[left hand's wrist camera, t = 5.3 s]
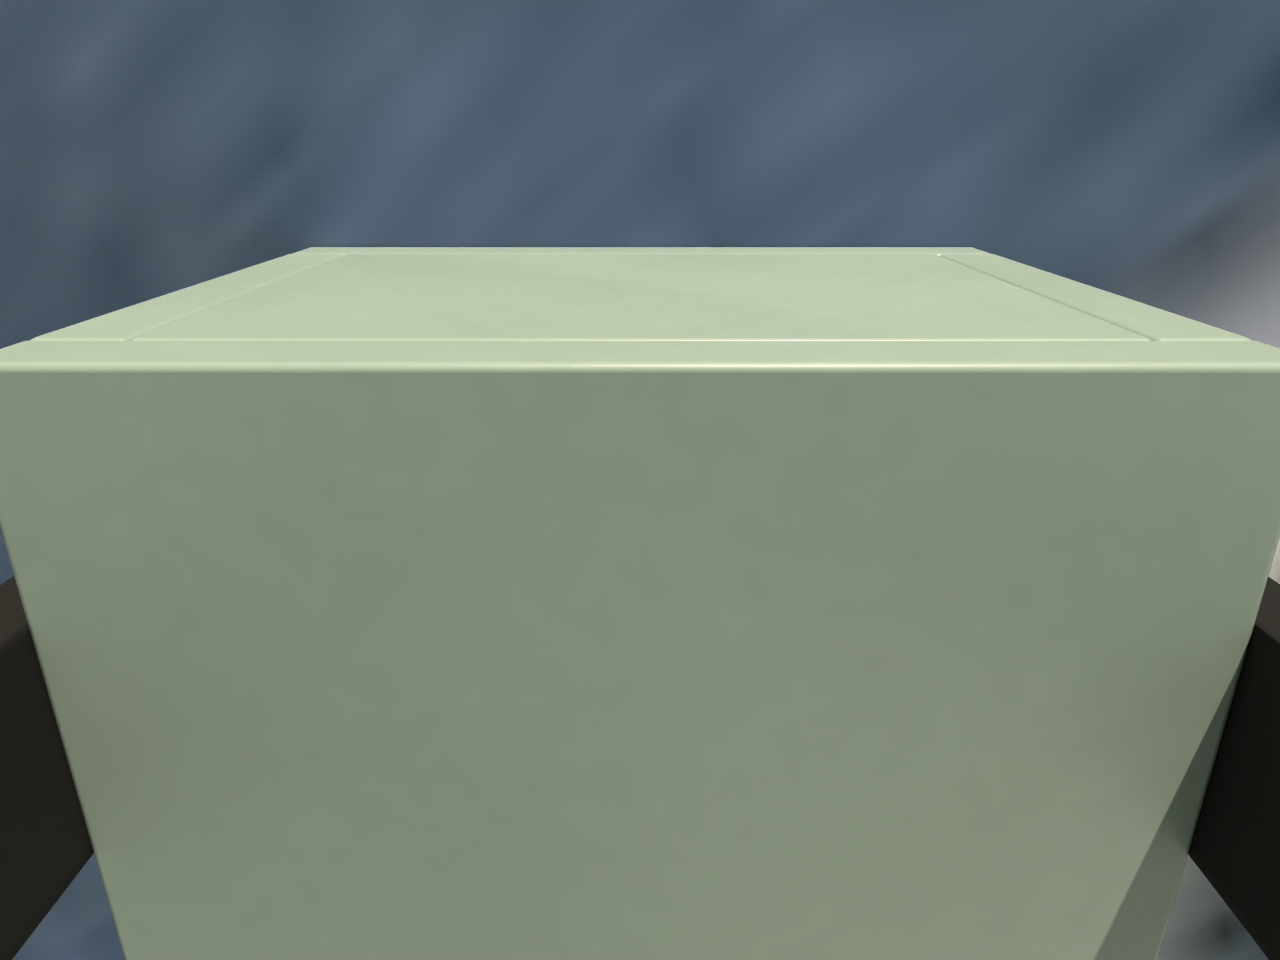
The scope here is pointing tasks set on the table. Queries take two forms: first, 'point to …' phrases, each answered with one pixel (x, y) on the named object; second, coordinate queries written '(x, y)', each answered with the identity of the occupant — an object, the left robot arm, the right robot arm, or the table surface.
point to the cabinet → (640, 602)
